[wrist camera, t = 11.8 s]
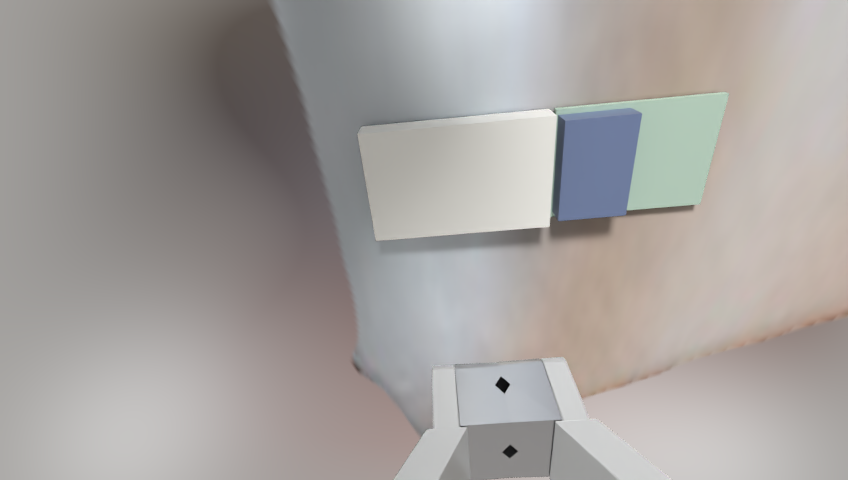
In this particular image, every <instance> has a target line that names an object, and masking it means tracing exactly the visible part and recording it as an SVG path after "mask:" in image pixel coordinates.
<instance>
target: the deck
mask: <svg viewBox="0 0 848 480" xmlns="http://www.w3.org/2000/svg"><path fill="white" fill-rule="evenodd" d="M556 123H557V115H556V114H554V113H553V112H552V111H551V110H550V109H540V110H529V111H519V112H508V113H498V114H487V115H477V116H466V117H456V118H445V119H434V120H424V121H413V122H403V123H392V124H382V125H371V126H361V128H360V130H359V132H358V134H357V136H358V141H359V147H360V153H361V159H362V165H363V170H364V176H365V182H366V188H367V193H368V199H369V205H370V211H371V216H372V222H373V228H374V234H375V240H376V241H384V240H396V239H408V238H420V237H432V236H444V235H456V234H468V233H480V232H492V231H504V230H516V229H528V228H540V227H550V213H551V198H552V183H553V168H554V153H555V138H556Z"/></svg>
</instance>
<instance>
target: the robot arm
mask: <svg viewBox="0 0 848 480" xmlns="http://www.w3.org/2000/svg"><path fill="white" fill-rule="evenodd" d="M432 408H433V429H426V431H425V432H424V434H423V435H422V437H421V438H420V440H419V441H418V443H417V444H416V446H415V447H414V449H413V450H412V452H411V454H410V455H409V457H408V458H407V460H406V461H405V463H404V464H403V466H402V467H401V469H400V470H399V472H398V473H397V475H396V477H395V478H394V479H393V480H487V479H498V478H509V477H510V478H513V477H545V476H546V477H548V476H550V480H672V479H671V478H670V477H668V476H667V475H666V474H665V473H663V472H662V471H661V470H660V469H659V468H657V467H656V466H655V465H654V464H652V463H651V462H650V461H649V460H648V459H646V458H645V457H644V456H642V455H641V454H640V453H639V452H638V451H636V450H635V449H634V448H633V447H631V446H630V445H629V444H628V443H627V442H625V441H624V440H623V439H622V438H620V437H619V436H618V435H617V434H615V433H614V432H613V431H612V430H611V429H609V428H608V427H607V426H605V425H604V424H603V423H602V422H601V421H599V420H598V419H590V418H589V415H588V413H587V410H586V408H585V406H584V403H583V401H582V398H581V396H580V393H579V391H578V388H577V386H576V384H575V381H574V379H573V376H572V374H571V371H570V369H569V367H568V364H567V362H566V360H565V359H564V358H563V357H556V358H543V359H528V360H516V361H503V362H497V363H474V364H455V369H454V365H437V366H432Z"/></svg>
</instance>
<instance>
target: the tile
mask: <svg viewBox="0 0 848 480" xmlns="http://www.w3.org/2000/svg"><path fill="white" fill-rule="evenodd" d="M641 118H642V113H641V112H639V111H637V110H635V109H633V108H624V109H614V110H603V111H593V112H583V113H573V114H563V115H558V127H557V143H556V159H555V175H554V191H553V207H552V212H553V214H554V215H555V217H556V218H557V220H558V221H566V220H577V219H588V218H600V217H611V216H623V215H626V211H627V205H628V199H629V192H630V186H631V180H632V174H633V168H634V162H635V155H636V149H637V143H638V137H639V131H640V124H641Z"/></svg>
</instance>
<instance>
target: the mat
mask: <svg viewBox="0 0 848 480" xmlns="http://www.w3.org/2000/svg"><path fill="white" fill-rule="evenodd" d="M728 96H729V93H726V92H719V93H709V94H698V95H688V96H677V97H667V98H656V99H646V100H635V101H624V102H614V103H603V104H593V105H582V106H572V107H561V108H554V114H556V115H557V123H556V138H555V153H554V168H553V183H552V198H551V213H550V217H554V216H555V215H554V214H553V212H552V207H553V191H554V175H555V159H556V143H557V127H558V115H563V114H573V113H583V112H593V111H603V110H614V109H624V108H633V109H635V110H637V111H639V112H641V113H642V118H641V124H640V131H639V137H638V143H637V149H636V155H635V162H634V168H633V174H632V180H631V186H630V192H629V199H628V205H627V210H637V209H649V208H661V207H673V206H685V205H697V204H700V203H701V199H702V195H703V191H704V187H705V184H706V180H707V176H708V172H709V168H710V164H711V161H712V157H713V153H714V149H715V145H716V142H717V138H718V134H719V130H720V126H721V122H722V119H723V115H724V111H725V107H726V103H727V100H728Z"/></svg>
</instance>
